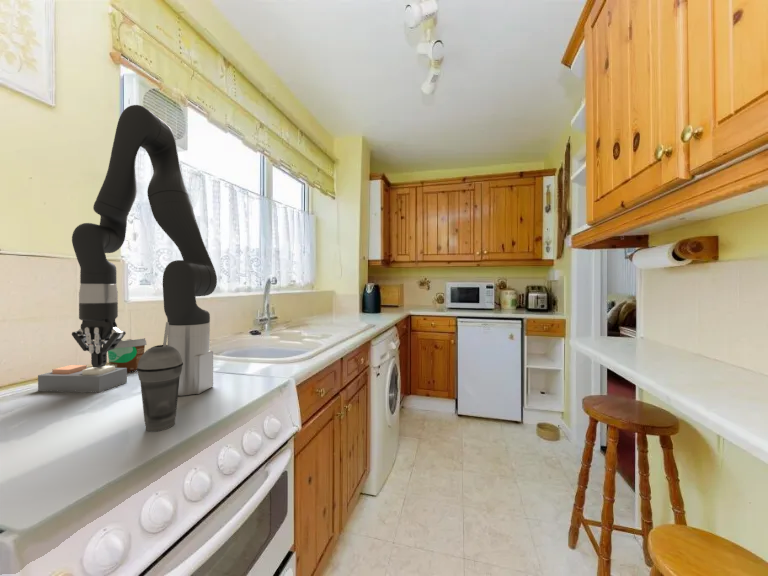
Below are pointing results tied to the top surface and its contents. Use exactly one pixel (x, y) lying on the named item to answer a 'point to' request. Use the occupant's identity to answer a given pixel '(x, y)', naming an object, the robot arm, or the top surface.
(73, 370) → the terracotta key
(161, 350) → the beverage cup
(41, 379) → the key console
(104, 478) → the top surface
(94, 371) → the cream key
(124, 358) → the food container
